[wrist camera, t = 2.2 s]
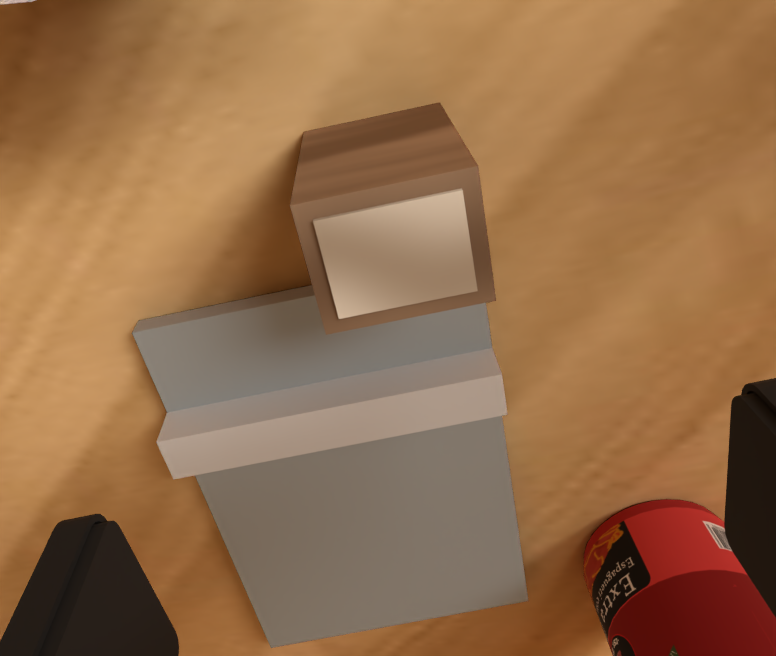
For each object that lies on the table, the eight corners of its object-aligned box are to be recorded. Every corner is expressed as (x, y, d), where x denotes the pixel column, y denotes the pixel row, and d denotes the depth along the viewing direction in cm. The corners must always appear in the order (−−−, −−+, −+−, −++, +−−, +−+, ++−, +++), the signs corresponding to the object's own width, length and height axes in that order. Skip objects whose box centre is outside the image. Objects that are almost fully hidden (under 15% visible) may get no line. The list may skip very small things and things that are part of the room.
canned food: (582, 502, 35) (673, 715, 25) (739, 486, 35) (889, 692, 25) (574, 604, 39) (650, 824, 29) (716, 589, 39) (839, 803, 29)
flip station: (138, 320, 28) (118, 359, 26) (475, 251, 28) (489, 283, 25) (272, 631, 38) (267, 682, 36) (524, 585, 38) (537, 633, 35)
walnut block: (303, 131, 25) (289, 207, 18) (439, 102, 25) (479, 167, 18) (329, 233, 27) (325, 337, 20) (456, 206, 27) (497, 303, 20)
